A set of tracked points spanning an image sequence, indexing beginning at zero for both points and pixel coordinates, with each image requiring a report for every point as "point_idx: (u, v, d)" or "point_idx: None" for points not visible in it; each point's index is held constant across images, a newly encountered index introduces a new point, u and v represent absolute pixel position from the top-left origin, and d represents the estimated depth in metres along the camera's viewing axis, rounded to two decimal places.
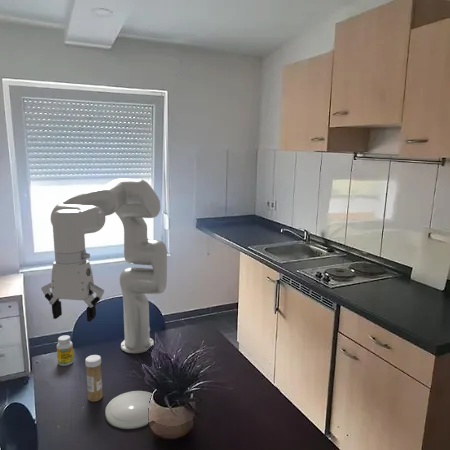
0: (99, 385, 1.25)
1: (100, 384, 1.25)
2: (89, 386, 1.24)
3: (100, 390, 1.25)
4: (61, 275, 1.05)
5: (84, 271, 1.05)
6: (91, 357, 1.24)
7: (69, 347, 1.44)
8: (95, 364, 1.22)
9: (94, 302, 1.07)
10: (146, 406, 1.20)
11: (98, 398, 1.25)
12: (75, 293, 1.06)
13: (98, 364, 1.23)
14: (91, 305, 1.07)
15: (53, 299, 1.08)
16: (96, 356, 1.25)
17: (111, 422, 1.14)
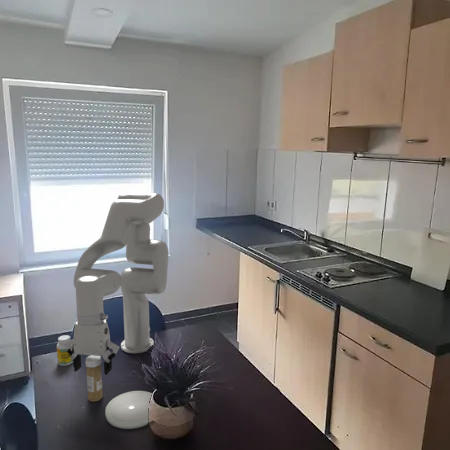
0: (99, 385, 1.25)
1: (100, 384, 1.25)
2: (89, 386, 1.24)
3: (100, 390, 1.25)
4: (82, 334, 1.20)
5: (102, 331, 1.20)
6: (91, 357, 1.24)
7: None
8: (95, 364, 1.22)
9: (111, 357, 1.22)
10: (146, 406, 1.20)
11: (98, 398, 1.25)
12: (94, 350, 1.20)
13: (98, 364, 1.23)
14: (108, 360, 1.21)
15: (74, 354, 1.23)
16: (96, 356, 1.25)
17: (111, 422, 1.14)
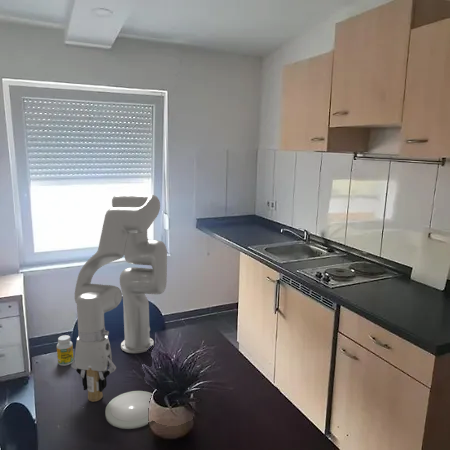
0: None
1: None
2: (89, 386, 1.24)
3: None
4: (84, 350, 1.21)
5: (104, 347, 1.21)
6: None
7: (69, 347, 1.44)
8: None
9: (105, 375, 1.24)
10: (146, 406, 1.20)
11: (98, 398, 1.25)
12: (96, 365, 1.22)
13: None
14: (103, 378, 1.23)
15: (84, 373, 1.24)
16: None
17: (111, 422, 1.14)
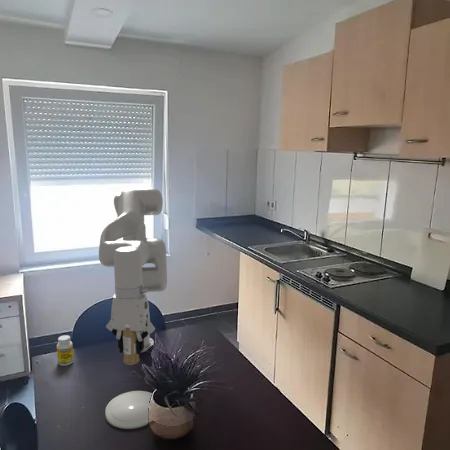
0: None
1: None
2: (126, 348, 1.15)
3: None
4: (121, 308, 1.12)
5: (143, 305, 1.12)
6: None
7: (69, 347, 1.44)
8: None
9: (143, 336, 1.15)
10: (146, 406, 1.20)
11: (135, 361, 1.16)
12: (134, 325, 1.13)
13: None
14: (140, 339, 1.15)
15: (120, 334, 1.15)
16: None
17: (111, 422, 1.14)
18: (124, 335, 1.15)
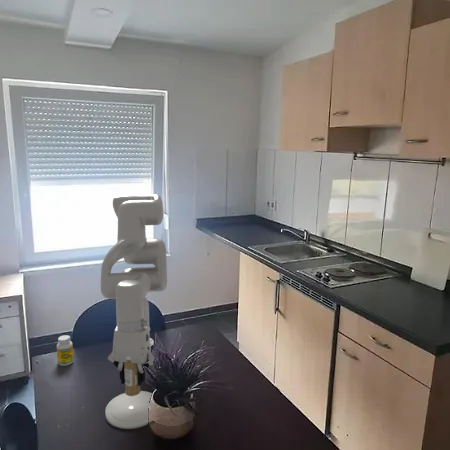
0: (137, 379, 1.17)
1: None
2: (127, 380, 1.17)
3: None
4: (123, 341, 1.14)
5: (144, 337, 1.14)
6: None
7: (69, 347, 1.44)
8: None
9: None
10: (146, 406, 1.20)
11: (136, 393, 1.18)
12: (135, 357, 1.15)
13: None
14: (142, 371, 1.16)
15: (121, 366, 1.17)
16: None
17: (111, 422, 1.14)
18: (125, 367, 1.16)
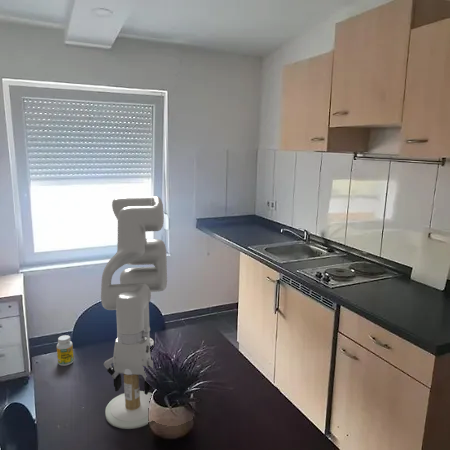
0: (137, 393, 1.19)
1: (138, 392, 1.19)
2: (127, 394, 1.18)
3: (138, 398, 1.19)
4: (123, 353, 1.15)
5: (144, 349, 1.15)
6: None
7: (69, 347, 1.44)
8: None
9: None
10: (146, 406, 1.20)
11: (136, 406, 1.19)
12: (135, 369, 1.15)
13: None
14: None
15: (115, 374, 1.18)
16: None
17: (111, 422, 1.14)
18: (125, 382, 1.17)
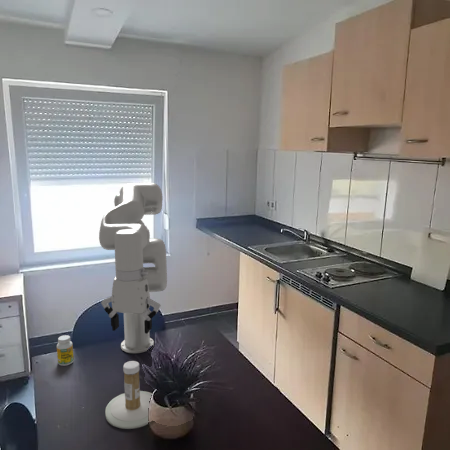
0: (137, 393, 1.19)
1: (138, 392, 1.19)
2: (127, 394, 1.18)
3: (138, 398, 1.19)
4: (122, 291, 1.13)
5: (143, 287, 1.13)
6: (129, 363, 1.18)
7: (69, 347, 1.44)
8: (133, 370, 1.16)
9: (151, 316, 1.15)
10: (146, 406, 1.20)
11: (136, 406, 1.19)
12: (134, 307, 1.14)
13: (137, 371, 1.17)
14: (149, 318, 1.15)
15: (113, 312, 1.16)
16: (134, 362, 1.19)
17: (111, 422, 1.14)
18: (125, 381, 1.17)
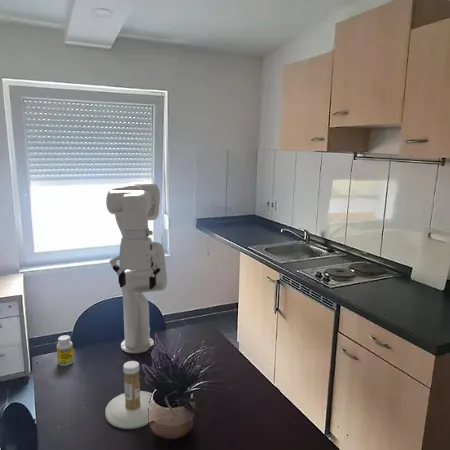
0: (137, 393, 1.19)
1: (138, 392, 1.19)
2: (127, 394, 1.18)
3: (138, 398, 1.19)
4: (129, 249, 1.24)
5: (148, 246, 1.24)
6: (129, 363, 1.18)
7: (69, 347, 1.44)
8: (133, 370, 1.16)
9: (156, 272, 1.26)
10: (146, 406, 1.20)
11: (136, 406, 1.19)
12: (140, 264, 1.24)
13: (137, 371, 1.17)
14: (153, 275, 1.25)
15: (120, 270, 1.27)
16: (134, 362, 1.19)
17: (111, 422, 1.14)
18: (125, 381, 1.17)
